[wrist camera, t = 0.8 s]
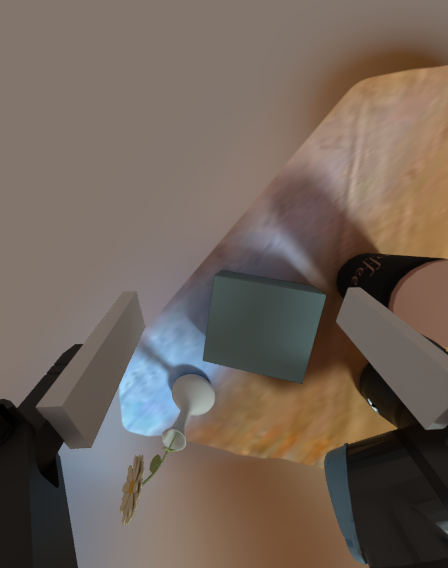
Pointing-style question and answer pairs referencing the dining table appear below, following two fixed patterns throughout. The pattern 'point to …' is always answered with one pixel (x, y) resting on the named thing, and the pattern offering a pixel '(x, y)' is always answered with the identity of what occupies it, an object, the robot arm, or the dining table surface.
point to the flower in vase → (169, 435)
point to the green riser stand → (262, 325)
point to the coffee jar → (404, 289)
